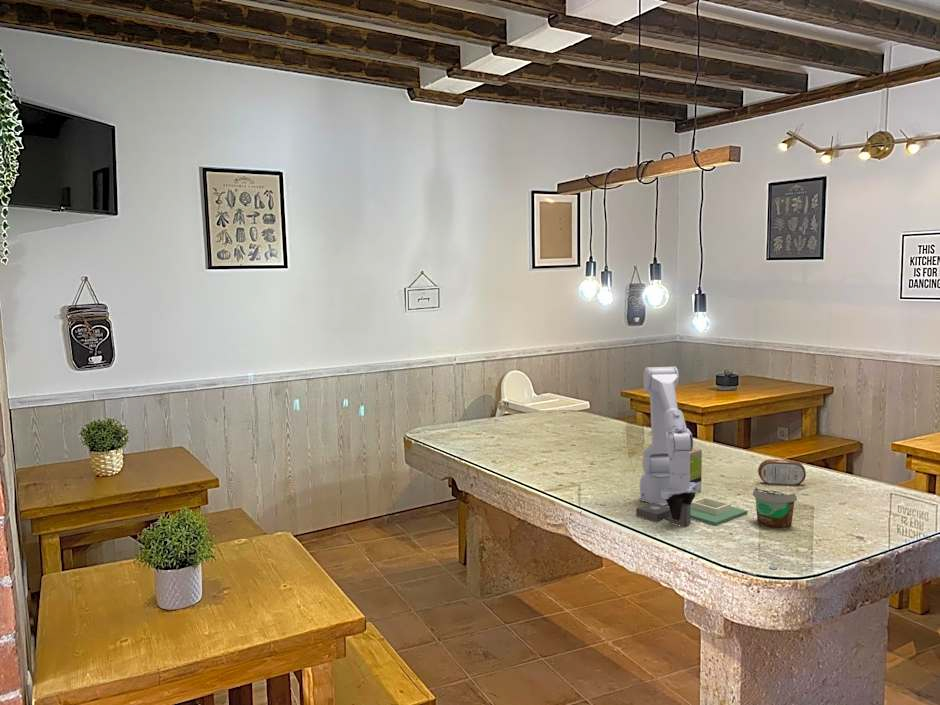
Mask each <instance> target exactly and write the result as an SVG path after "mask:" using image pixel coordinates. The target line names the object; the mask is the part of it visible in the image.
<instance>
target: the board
mask: <svg viewBox="0 0 940 705" xmlns="http://www.w3.org/2000/svg"><path fill="white" fill-rule="evenodd" d="M690 507H691V518H693V519H692V520H694V519H696V520H695V521H697V520H699V521H698V522H701V521H702V522H701V523H704V522H706V523H705V524H708V523H709V524H708V525H711V524H712V525H711V526H714V525H715V527H716V526H719V525H722V524H725V523H727V522H730V521H732V519H733V520H735V519H738V518H741V517H743V516H746V515H748V510H746V509H743V508H739V507H734V506H732V504H731V503H729V502H726V501H725V502H724V501H720V500H718V499H713V498H708V497H705V496H704V497H702V498H699V499H695V500H693V501H692V503H691V505H690ZM740 516H741V517H740ZM691 518H690V519H691ZM734 518H735V519H734ZM729 520H730V521H729ZM721 523H722V524H721Z"/></svg>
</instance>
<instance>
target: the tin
mask: <svg viewBox="0 0 940 705" xmlns="http://www.w3.org/2000/svg"><path fill="white" fill-rule="evenodd" d="M757 472H758V477H759V478H760V479H761V481H762V482H764V483H765V484H768V485H775V486H791V485H795V486H799V485H800V484H802V483H803V482H804V481H805V479H806V476H807V473H806V469H805V467H804V464H802V463H801V462H800V461H797V460H792V459H791V460H790V459H789V460H788V459H786V460H785V459H766V460H763V461H762V462H761V463H760V464H759V466H758V469H757Z"/></svg>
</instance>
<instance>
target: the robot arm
mask: <svg viewBox="0 0 940 705" xmlns="http://www.w3.org/2000/svg"><path fill="white" fill-rule="evenodd" d="M679 372H680V371H679V369H678V368H677V367H676V365H674V366H657V367H656V366H654V367H652V366H651V367H649V366H646V367H645V369H644V371H643V374H642V376H643V377H642V378H643V389H644V392H645V393H647V394H649V402H650V404H649V405H650V406H649V407H650V427H651V428H650V429H651V444H650V445H649V446H647V447H646V448H644V450H643V452H642V453H643V454H642V461H641V462H642V469H643V474H641V476H640V480H639V481H640V482H639V483H640V484H639V489H640V490H639V492H640V493H639V498H638V501H640V500H641V502H644V501H645V502H644V503H647V502H648V503H647V504H650V503H657V504H660V505H664V506H667V505H668V507H669V508H670V511H671V515H672V519H675V520H679V519H680V511H681V505H682V503H686V504H689V505H691V503H692V501H694V499H695V497H696V493H692V492H693V490H698V483H695V482H690V452H689V451H692V449H693V448H694V438H693V434H692V432H691V430H690V429H689V428H687V427H688V426H687V424H686V420H685V416H684V413H683V411H682V410H680V409H679V408H678V402H677V395H676V389H677V387H678V384H679V381H680V374H679ZM663 453H668V454H663ZM652 454H656V455H652Z"/></svg>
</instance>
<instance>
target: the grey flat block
mask: <svg viewBox="0 0 940 705" xmlns="http://www.w3.org/2000/svg"><path fill="white" fill-rule="evenodd" d="M635 509H636V510H635V515H638V516H637V517H639V516H641V517H640V518H642V517H644V518H643V519H645V518H647V519H646V520H649V519H650V520H649V521H652V520H653V521H652V522H655V521H656V522H655V523H659V522H662V521H664V520H663V519H665V520H666V519H668V521H669V506H667V505H665V506H664V505H660V504H657V503H647V504H645V505H641V506H639V507H638V506H637V507H636V508H635ZM661 520H662V521H661ZM658 521H659V522H658Z"/></svg>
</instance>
